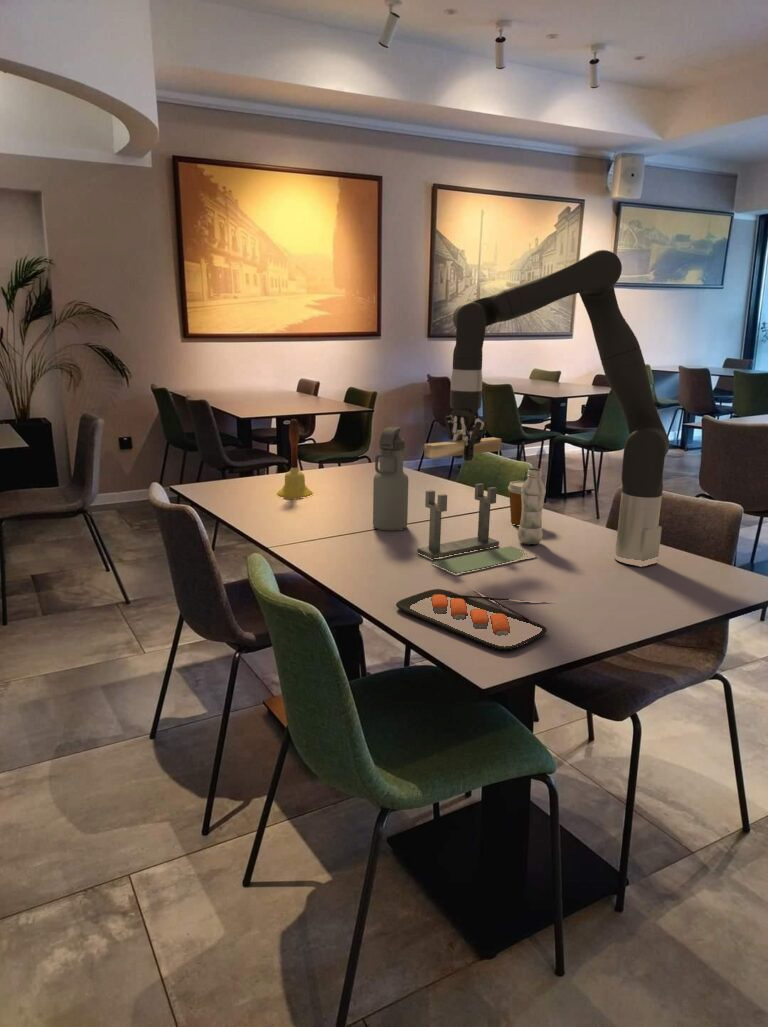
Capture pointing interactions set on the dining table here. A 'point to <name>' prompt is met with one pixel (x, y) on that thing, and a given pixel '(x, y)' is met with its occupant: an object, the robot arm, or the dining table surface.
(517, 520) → the disposable coffee cup
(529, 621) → the sushi plate
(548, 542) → the dining table surface
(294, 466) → the handbell
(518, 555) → the rubber mat
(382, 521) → the water bottle
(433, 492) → the rail stand
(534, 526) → the plastic bottle
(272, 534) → the dining table surface
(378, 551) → the dining table surface
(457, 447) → the beech rail
